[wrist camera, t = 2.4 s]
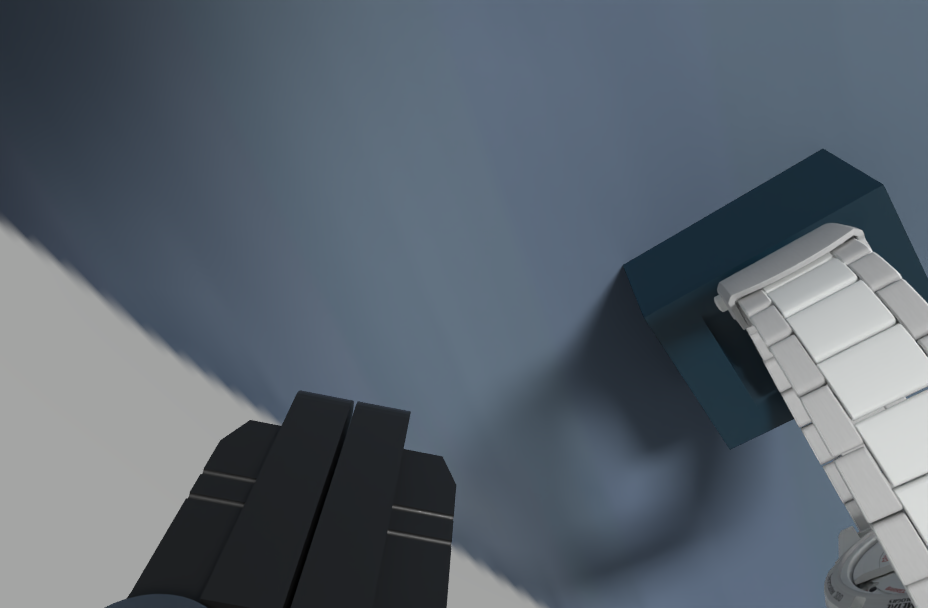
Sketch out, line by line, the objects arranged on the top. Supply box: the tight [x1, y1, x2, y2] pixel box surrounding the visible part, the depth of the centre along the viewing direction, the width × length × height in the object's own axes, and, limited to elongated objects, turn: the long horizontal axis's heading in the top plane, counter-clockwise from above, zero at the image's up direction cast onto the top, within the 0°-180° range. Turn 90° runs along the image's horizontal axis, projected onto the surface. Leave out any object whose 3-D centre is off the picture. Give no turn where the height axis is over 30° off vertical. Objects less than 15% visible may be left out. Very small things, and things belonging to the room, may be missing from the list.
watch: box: [623, 149, 928, 608], centre depth 14 cm, size 6×8×11 cm
